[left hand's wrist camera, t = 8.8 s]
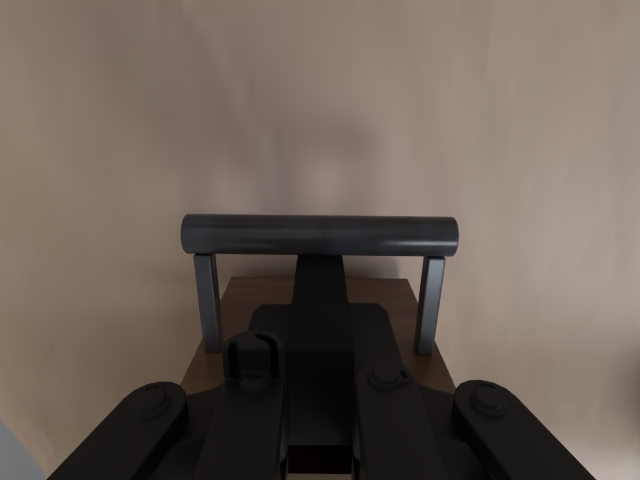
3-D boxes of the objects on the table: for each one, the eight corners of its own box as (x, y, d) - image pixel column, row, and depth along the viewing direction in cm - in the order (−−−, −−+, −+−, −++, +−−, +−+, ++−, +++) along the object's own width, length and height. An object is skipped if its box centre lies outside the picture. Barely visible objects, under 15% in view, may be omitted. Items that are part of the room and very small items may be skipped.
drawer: (223, 176, 18) (150, 242, 10) (417, 178, 18) (489, 246, 10) (249, 495, 26) (217, 671, 18) (385, 497, 26) (412, 673, 18)
